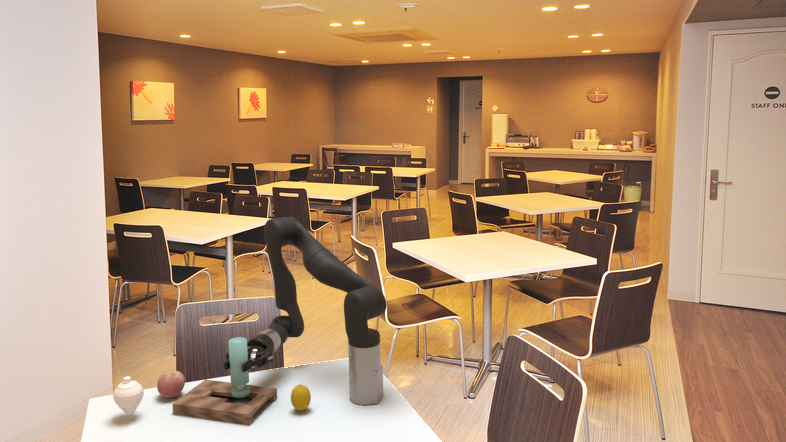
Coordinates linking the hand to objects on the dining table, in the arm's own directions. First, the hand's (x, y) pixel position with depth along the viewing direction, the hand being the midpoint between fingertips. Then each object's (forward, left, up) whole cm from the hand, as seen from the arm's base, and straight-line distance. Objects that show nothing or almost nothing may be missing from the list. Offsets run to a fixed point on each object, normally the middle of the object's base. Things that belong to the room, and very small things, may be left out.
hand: (234, 367), depth 165 cm
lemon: (-17, -6, -14) cm, 23 cm away
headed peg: (0, -3, -9) cm, 9 cm away
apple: (+24, -4, -14) cm, 28 cm away
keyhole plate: (+5, -3, -13) cm, 14 cm away
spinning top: (+27, +10, -14) cm, 32 cm away
